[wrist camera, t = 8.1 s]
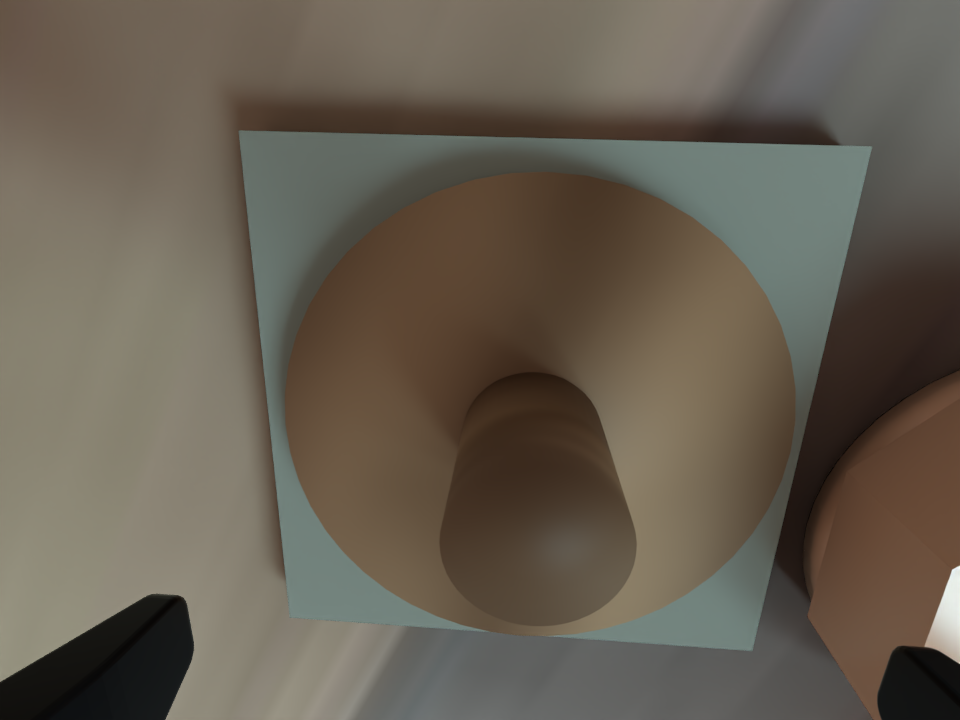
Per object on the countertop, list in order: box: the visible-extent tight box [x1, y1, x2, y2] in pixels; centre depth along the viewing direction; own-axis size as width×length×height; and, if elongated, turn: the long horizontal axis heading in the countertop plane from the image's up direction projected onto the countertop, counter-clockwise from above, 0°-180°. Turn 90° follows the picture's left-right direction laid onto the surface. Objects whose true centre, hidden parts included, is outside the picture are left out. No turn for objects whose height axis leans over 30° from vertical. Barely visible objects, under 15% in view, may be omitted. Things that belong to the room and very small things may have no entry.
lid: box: [285, 172, 796, 636], centre depth 11 cm, size 12×12×5 cm
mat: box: [239, 130, 872, 651], centre depth 14 cm, size 13×13×1 cm
